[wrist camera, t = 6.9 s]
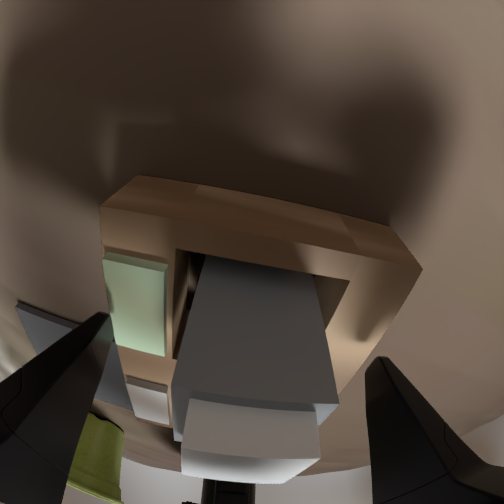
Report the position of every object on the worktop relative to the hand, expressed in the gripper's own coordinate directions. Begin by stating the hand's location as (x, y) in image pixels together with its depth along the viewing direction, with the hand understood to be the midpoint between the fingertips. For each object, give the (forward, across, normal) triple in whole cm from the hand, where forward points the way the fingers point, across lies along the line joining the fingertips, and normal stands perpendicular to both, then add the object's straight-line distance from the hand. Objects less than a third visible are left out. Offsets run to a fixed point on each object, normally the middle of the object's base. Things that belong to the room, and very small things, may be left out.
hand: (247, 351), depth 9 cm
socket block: (+4, 0, +4) cm, 5 cm away
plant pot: (+4, +12, +24) cm, 27 cm away
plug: (+4, 0, 0) cm, 4 cm away
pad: (+4, +10, +10) cm, 15 cm away
